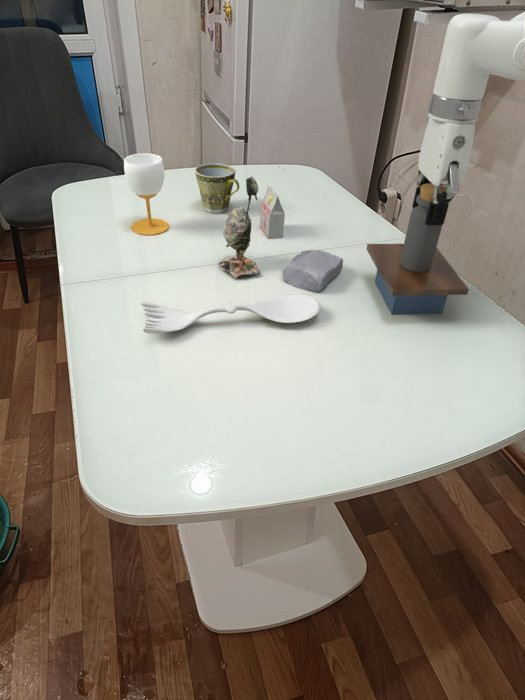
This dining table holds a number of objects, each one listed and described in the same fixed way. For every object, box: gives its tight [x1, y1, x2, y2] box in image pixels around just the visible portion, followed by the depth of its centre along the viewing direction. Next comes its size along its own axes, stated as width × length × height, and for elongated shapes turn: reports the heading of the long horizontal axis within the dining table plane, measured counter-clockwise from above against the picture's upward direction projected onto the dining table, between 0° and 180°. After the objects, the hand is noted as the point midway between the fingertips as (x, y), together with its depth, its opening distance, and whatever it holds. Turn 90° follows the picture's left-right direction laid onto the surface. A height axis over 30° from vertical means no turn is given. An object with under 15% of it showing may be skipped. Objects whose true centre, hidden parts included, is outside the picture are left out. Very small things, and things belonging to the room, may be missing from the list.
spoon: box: [140, 293, 321, 334], centre depth 92 cm, size 9×32×4 cm, turn 103°
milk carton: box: [259, 186, 286, 240], centre depth 120 cm, size 4×7×10 cm, turn 17°
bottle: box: [400, 183, 446, 272], centre depth 93 cm, size 6×6×15 cm
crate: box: [374, 268, 448, 315], centre depth 100 cm, size 10×12×6 cm
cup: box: [123, 152, 170, 236], centre depth 118 cm, size 9×9×16 cm
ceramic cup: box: [194, 163, 240, 214], centre depth 129 cm, size 13×10×10 cm
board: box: [366, 243, 470, 296], centre depth 98 cm, size 14×18×1 cm
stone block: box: [282, 249, 344, 293], centre depth 106 cm, size 12×5×10 cm
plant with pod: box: [218, 175, 261, 279], centre depth 103 cm, size 8×11×20 cm
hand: (427, 215), depth 91 cm, fingers open, 6 cm apart
